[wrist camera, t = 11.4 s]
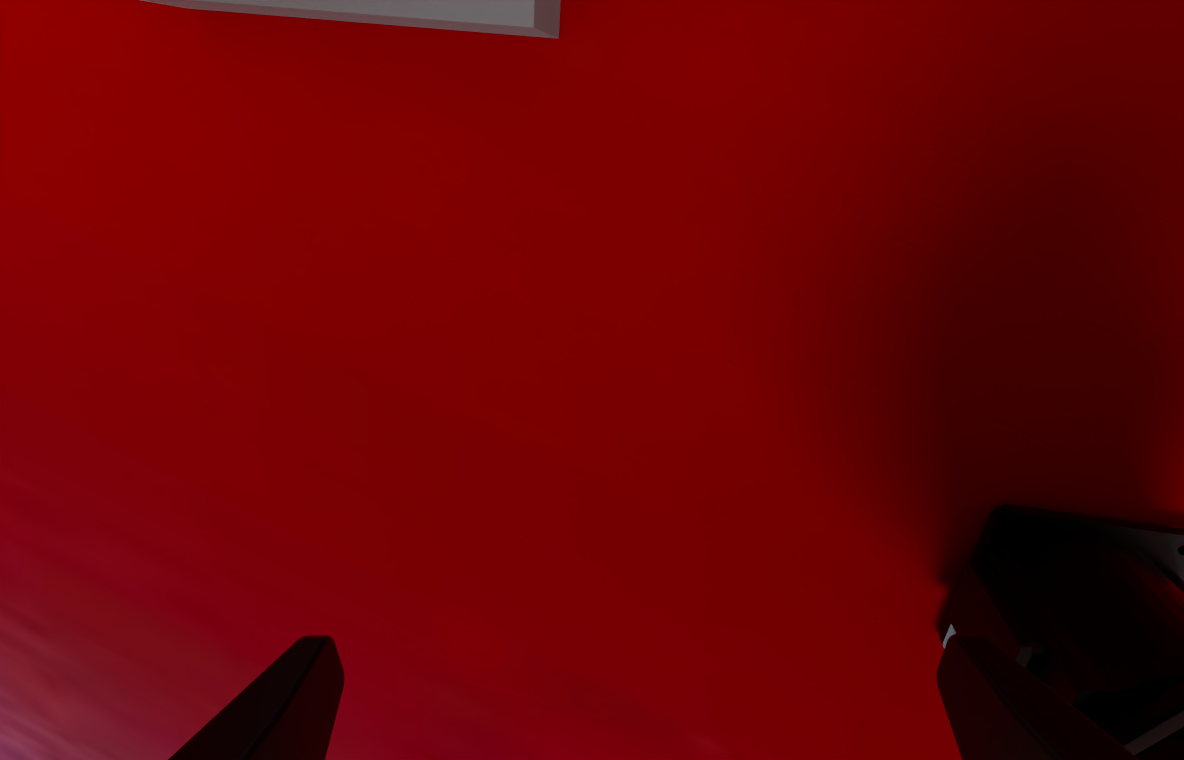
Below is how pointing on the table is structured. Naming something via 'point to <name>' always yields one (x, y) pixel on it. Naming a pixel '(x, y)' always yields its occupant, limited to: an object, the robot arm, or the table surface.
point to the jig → (408, 13)
